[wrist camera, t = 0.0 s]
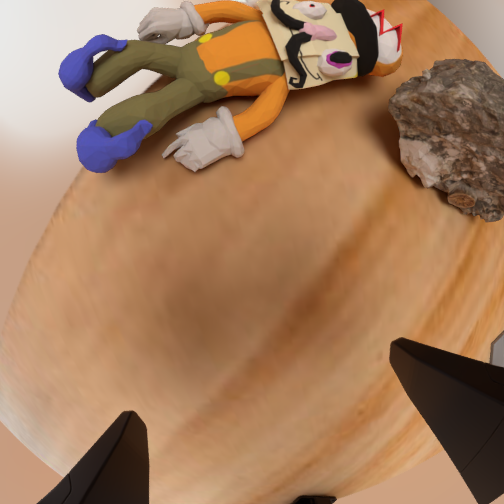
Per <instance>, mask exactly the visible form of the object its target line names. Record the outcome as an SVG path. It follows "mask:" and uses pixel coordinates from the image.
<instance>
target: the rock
mask: <svg viewBox="0 0 504 504" xmlns="http://www.w3.org/2000/svg"><path fill="white" fill-rule="evenodd" d="M422 73H423V76H418V77H412V78H410V80H409V81H407V82H405V83H402V84H401V86H400V87H399V88H397V89H396V94H395V95H394V96H393V97H392V98H390V99H389V106H388V109H389V113H390V114H391V115H392V116H393V118H394V119H395V120H396V122H397V125H398V128H399V132H400V139H399V148H400V153H401V162H402V163H403V165H404V166H405V168H406V169H407V172H408V173H409V175H411V176H412V177H414V176H415V175H416V174H417V175H418V176H419V177H420V179H421V182H422V184H423V186H424V188H426V187H427V188H430V187H432V186H435V187H436V188H438V189H440V190H442V191H444V192H447V193H448V197H447V199H448V202H449V203H450V204H453V205H455V206H457V207H459V208H460V209H461V210H462V211H463V213H464V214H469V213H472V214H473V216H476V215H480V219H484V220H485V222H494V221H498V220H500V219H502V217H503V215H504V79H503V78H501V77H500V76H498V75H497V74H495V73H494V72H493V71H492V70H491V69H490V68H489V66H488V65H487V64H486V63H485V62H480V61H474V62H473V61H470V60H466V59H464V60H460V59H445V60H444V61H435V62H434V66H433V68H431V69H430V70H428V69H426V70H424V71H422Z"/></svg>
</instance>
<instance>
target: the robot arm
mask: <svg viewBox="0 0 504 504" xmlns="http://www.w3.org/2000/svg"><path fill="white" fill-rule="evenodd" d="M389 360H390V364H391V366H392V368H393V369H394V371H395V373H396V375H397V377H398V378H399V380H400V382H401V384H402V386H403V388H404V390H405V391H406V393H407V395H408V396H409V398H410V400H411V401H412V402H413V404H414V405H415V407H416V408H417V410H418V411H419V412H420V414H421V415H422V417H423V418H424V420H425V421H426V423H427V424H428V425H429V427H430V428H431V430H432V431H433V433H434V434H435V436H436V437H437V439H438V440H439V442H440V443H441V445H442V446H443V448H444V449H445V451H446V452H447V454H448V455H449V457H450V458H451V460H452V462H453V463H454V465H455V466H456V468H457V470H458V471H459V473H460V474H461V476H462V477H463V479H464V481H465V483H466V484H467V486H468V488H469V489H470V491H471V492H472V494H473V496H474V498H475V499H476V501H477V503H478V504H489V503H491V502H492V501H494V500H495V499H497V498H498V497H499V496H501V495H502V494H503V493H504V367H500V366H496V365H492V364H489V363H484V362H482V361H478V360H475V359H471V358H468V357H464V356H461V355H458V354H454V353H451V352H448V351H444V350H441V349H438V348H435V347H431V346H428V345H425V344H422V343H419V342H416V341H412V340H409V339H406V338H403V337H400V338H398V339H396V340H394V341H392V342H391V345H390V357H389ZM336 500H337V499H336V497H314V496H300V497H299V498H298V499H297V500H295V501H294V502H293V503H292V504H332V503H334V502H335V501H336ZM37 504H149V453H148V439H147V428H146V425H145V423H144V422H143V421H142V420H141V418H140V417H139V416H138V414H137V413H136V412H135V411H124V412H122V413H121V414H120V415H119V417H118V418H117V419H116V420H115V421H114V422H113V423H112V425H111V426H110V427H109V428H108V429H107V430H106V431H105V432H104V434H103V435H102V436H101V437H100V438H99V439H98V440H97V441H96V443H95V444H94V445H93V446H92V447H91V448H90V449H89V450H88V452H87V453H86V454H85V455H84V456H83V457H82V458H81V459H80V461H79V462H78V463H77V464H76V465H75V466H74V467H73V468H72V469H71V471H70V472H69V473H68V474H67V475H66V476H65V477H64V478H63V479H62V480H61V482H60V483H59V484H58V485H57V486H56V487H55V488H54V489H53V490H51V492H49V493H48V494H47V495H46V496H45V497H44V498H43V499H41V500H40V501H39V502H38V503H37Z"/></svg>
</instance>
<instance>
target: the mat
mask: <svg viewBox="0 0 504 504" xmlns="http://www.w3.org/2000/svg"><path fill="white" fill-rule="evenodd" d="M490 364H492V365H496V366H500V367H504V331H503V332H502V333H501V334H500V335H499V336H498V337H497V338H496V339H495V340H494V341H493V342H492V343H491V355H490Z"/></svg>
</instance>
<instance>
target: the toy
mask: <svg viewBox="0 0 504 504" xmlns="http://www.w3.org/2000/svg"><path fill="white" fill-rule="evenodd" d="M256 4H257V5H258V7H259V8H260V9H261V11H260V10H257V9H254V8H252V7H249V6H247V5H244V4H242V3H239V2H237V1H216V2H210V3H204V4H198V5H193V4H192V3H191V2H188V1H184V2H182V4H181V6H180V8H179V9H171V8H158V7H155V8H153V9H152V10H150V12H149V13H148V15H146V16H145V18H144V19H143V20H142V21H141V22H140V26H139V27H138V29H137V32H138V33H139V39H140V40H141V41H140V40H128V41H127V40H116V39H114V38H112V37H109V36H107V35H104V34H102V35H97V36H95V37H93V38H92V39H91V40H90V41H89V42H88V43H87V44H86V45H85V46H84V47H83V48H80V49H77V50H75V51H73V52H71V53H70V54H69V55H68V56H67V57H66V58H65V59H64V60H63V62H62V63H61V65H60V69H59V73H58V74H59V78H60V79H61V81H62V83H63V85H64V87H65V88H66V89H68V90H70V91H71V92H73V93H75V94H76V95H77V96H79V97H80V98H82V99H84V100H85V101H87V102H92V101H94V100H95V98H96V97H101V96H103V95H105V94H106V93H108V92H109V91H111V90H112V89H114V88H115V87H117V86H118V85H119V84H121V83H122V82H123V81H124V80H126V79H127V78H129V77H130V76H132V75H133V74H135V73H136V72H138V71H139V70H141V69H147V70H151V71H154V72H157V73H160V74H162V75H165V76H168V77H171V78H177V79H176V80H175V81H173V82H172V83H170V84H169V85H167V86H166V87H164V88H163V89H161V90H159V91H157V92H152V93H144V94H140V95H136V96H133V97H131V98H129V99H126V100H124V101H122V102H120V103H118V104H116V105H114V106H112V107H110V108H109V109H107V110H106V111H105V112H104V113H103V114H102V115H101V116H100V117H99V118H98V120H93V121H91V122H90V124H89V126H88V127H87V128H85V129H84V130H83V131H82V132H81V133H80V135H79V136H78V138H77V153H78V157H79V161H80V162H81V163H82V164H83V165H84V167H85V168H86V169H87V170H89V171H92V172H96V173H106V172H107V171H109V170H110V169H112V168H113V167H114V166H115V165H116V163H117V160H119V159H126V158H128V157H130V156H132V155H134V154H135V152H136V151H137V150H138V149H139V147H140V144H141V141H142V139H145V138H148V137H149V136H151V135H153V134H154V133H156V132H157V131H159V130H160V129H161V128H162V127H163V126H164V125H165V124H166V123H167V122H168V121H169V120H170V119H171V118H173V117H174V116H176V115H178V114H180V113H181V112H183V111H185V110H187V109H190V108H192V107H194V106H196V105H197V104H199V103H201V102H205V103H210V102H213V101H216V100H218V99H221V98H224V97H229V96H234V95H240V96H258V95H260V96H259V97H258V98H257V99H256V100H255V102H254V103H253V104H252V105H251V106H250V107H249V108H248V109H246V110H245V111H244V112H242V113H240V114H238V115H236V116H232V115H231V112H230V110H229V109H228V108H226V107H224V106H221V107H220V108H219V109H218V110H217V112H216V114H217V117H218V118H216V117H211V118H209V119H207V120H206V121H205V122H203V123H196V124H194V125H192V126H190V127H188V128H186V129H184V130H182V131H180V132H178V133H176V135H177V136H178V139H177V140H176V141H174V142H173V143H172V144H170V145H169V146H168V147H167V149H166V150H165V151H164V152H163V154H162V156H163V158H165V157H167V156H168V155H169V154H170V153H171V152H172V151H173V150H174V149H177V148H179V147H181V146H182V147H181V148H180V149H179V150H178V151H177V152H176V153H175V154H174V157H175V160H176V161H177V162H181V163H182V164H183V165H184V166H185V167H186V168H188V169H191V170H193V171H194V172H195V171H197V170H198V169H200V168H201V169H202V168H204V167H206V166H208V165H209V164H211V163H213V162H215V161H217V160H218V159H220V158H222V157H224V156H228V155H231V154H232V155H233V156H235V157H237V158H239V157H241V156H242V155H243V154H244V147H243V144H242V142H243V141H244V140H245V139H247V138H249V137H251V136H253V135H255V134H256V133H258V132H259V131H261V130H263V129H265V128H266V127H268V126H269V125H270V124H271V123H272V122H273V121H274V120H275V119H276V117H277V116H278V115H279V113H280V111H281V109H282V107H283V104H284V102H285V100H286V97H287V95H288V92H289V91H290V90H291V89H303V88H308V87H312V86H318V85H321V84H324V83H327V82H329V81H332V80H338V79H346V78H355V77H357V76H364V75H366V74H369V75H374V76H381V77H384V76H386V75H389V74H391V73H394V72H395V71H396V70H397V69H398V68H399V67H400V65H401V61H402V56H403V47H402V45H401V34H402V24H403V23H402V24H400V25H397V26H395V27H392V26H391V25H390V24H389V22H388V21H387V20H386V19H385V18H384V10H381V11H379V12H377V13H375V12H374V11H372V10H369V9H366V7H365V6H364V4H362V3H361V2H360V1H358V0H335V1H334V2H333V3H332V4H331V6H330V4H329V3H317V2H313V1H304V2H299V1H295V0H260V1H258V2H256ZM217 22H226V23H235V24H232V25H230V26H228V27H226V28H223V29H221V30H218V31H214V32H211V33H207V34H205V31H206V28H207V27H208V26H209V24H212V23H217ZM194 34H196V35H198V36H200V37H199V38H197V39H196V40H195V41H193V42H191V43H188V44H186V45H185V46H183V47H177V46H172V45H165V44H166V43H168V42H170V41H172V40H173V39H175V38H176V39H186V38H189V37H190V36H192V35H194ZM204 34H205V35H204ZM158 35H160V36H159V37H158ZM107 50H108V51H107ZM102 51H107V52H106V53H104V54H103V55H102V56H101V57H100V58H99V59H98V60H96V61H95V62H94V63H93V56H95V55H96V54H98V53H99V52H102Z"/></svg>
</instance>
